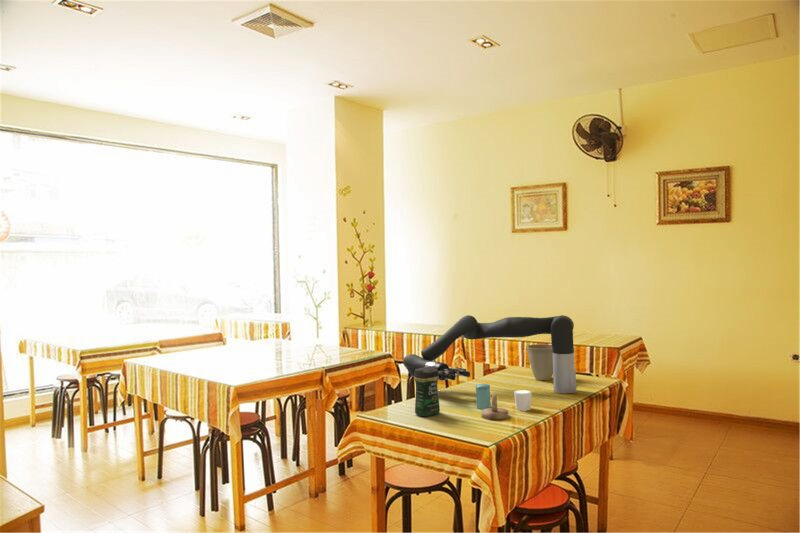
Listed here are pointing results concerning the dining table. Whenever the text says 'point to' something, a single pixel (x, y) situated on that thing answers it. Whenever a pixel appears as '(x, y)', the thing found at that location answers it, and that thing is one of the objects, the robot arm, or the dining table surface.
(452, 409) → the dining table surface
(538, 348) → the plant pot
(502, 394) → the dining table surface
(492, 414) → the post
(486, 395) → the teal lidded canister
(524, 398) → the white cup
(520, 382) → the dining table surface
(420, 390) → the coffee jar
